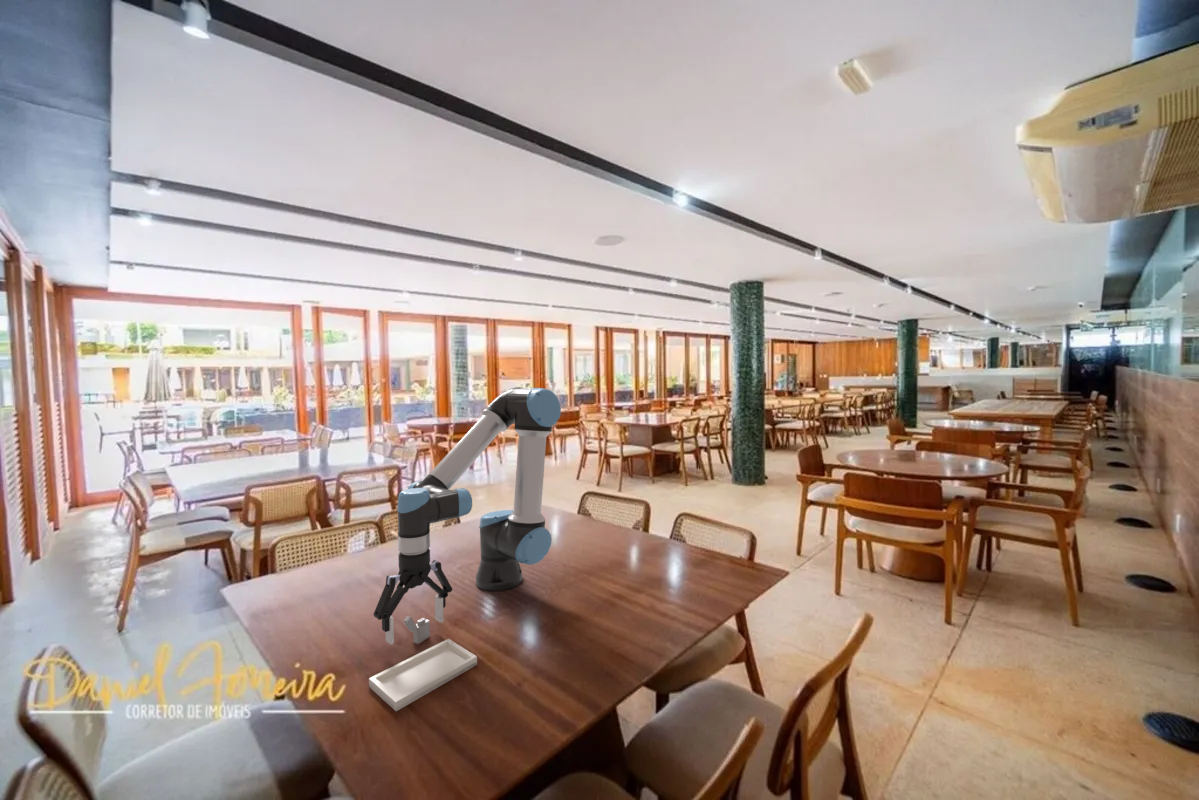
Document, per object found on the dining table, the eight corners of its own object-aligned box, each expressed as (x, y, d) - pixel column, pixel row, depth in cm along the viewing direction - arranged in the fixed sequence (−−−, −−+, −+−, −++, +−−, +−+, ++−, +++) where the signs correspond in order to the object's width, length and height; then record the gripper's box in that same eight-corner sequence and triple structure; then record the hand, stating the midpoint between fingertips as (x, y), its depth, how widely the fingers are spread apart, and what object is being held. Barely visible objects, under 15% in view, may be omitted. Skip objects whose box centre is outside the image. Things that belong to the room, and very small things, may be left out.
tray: (448, 646, 121) (448, 638, 121) (477, 664, 113) (476, 656, 113) (369, 687, 105) (368, 678, 105) (396, 711, 98) (395, 702, 98)
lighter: (425, 634, 126) (424, 605, 126) (430, 635, 125) (429, 606, 125) (403, 648, 120) (402, 617, 119) (408, 650, 119) (407, 619, 119)
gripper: (449, 534, 133) (449, 608, 134) (357, 560, 114) (359, 646, 115) (464, 540, 128) (465, 616, 129) (371, 569, 109) (373, 658, 110)
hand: (415, 631), depth 122 cm, fingers open, 13 cm apart
